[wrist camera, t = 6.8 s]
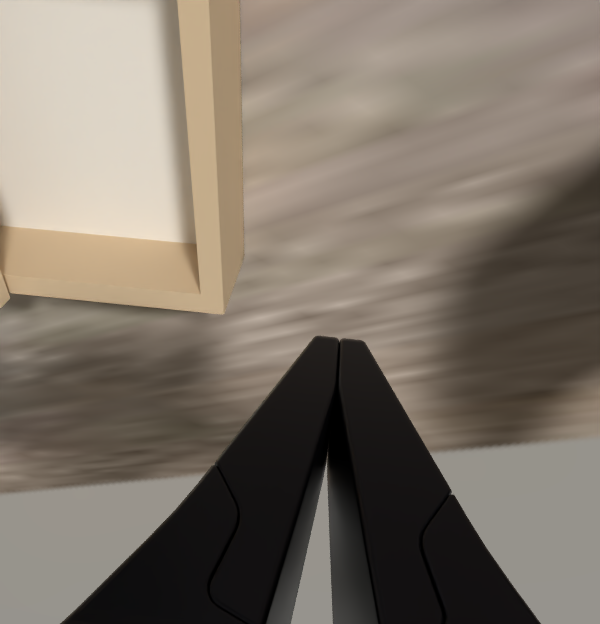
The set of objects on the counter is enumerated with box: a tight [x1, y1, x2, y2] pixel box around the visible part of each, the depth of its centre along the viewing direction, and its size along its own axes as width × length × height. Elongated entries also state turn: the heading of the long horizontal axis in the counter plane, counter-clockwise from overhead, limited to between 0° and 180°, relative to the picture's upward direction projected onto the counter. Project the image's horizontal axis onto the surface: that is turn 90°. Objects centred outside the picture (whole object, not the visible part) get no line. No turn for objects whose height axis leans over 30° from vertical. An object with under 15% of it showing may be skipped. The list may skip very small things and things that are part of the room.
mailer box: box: [0, 0, 244, 315], centre depth 17 cm, size 14×13×4 cm
